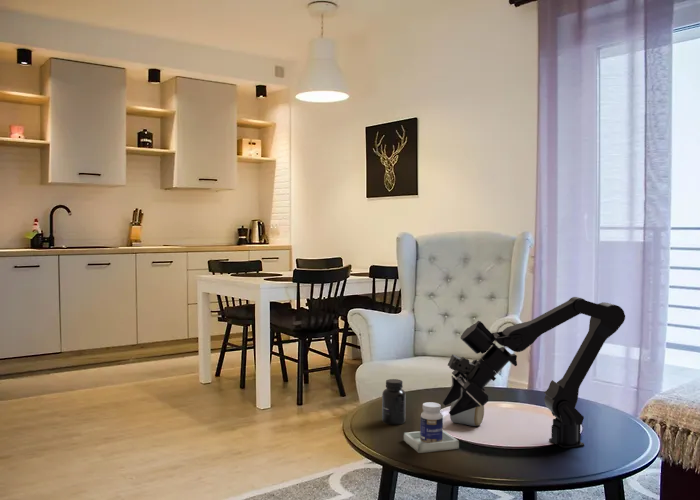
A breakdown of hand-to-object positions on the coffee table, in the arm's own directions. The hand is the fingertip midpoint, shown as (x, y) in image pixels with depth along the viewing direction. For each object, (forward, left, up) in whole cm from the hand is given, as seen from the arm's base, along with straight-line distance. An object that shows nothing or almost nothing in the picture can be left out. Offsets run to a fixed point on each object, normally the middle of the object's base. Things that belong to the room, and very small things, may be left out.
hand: (446, 409), depth 162 cm
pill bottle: (+4, -1, -9) cm, 10 cm away
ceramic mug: (-14, -15, -9) cm, 23 cm away
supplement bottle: (+6, -22, -9) cm, 25 cm away
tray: (+4, -1, -9) cm, 10 cm away
